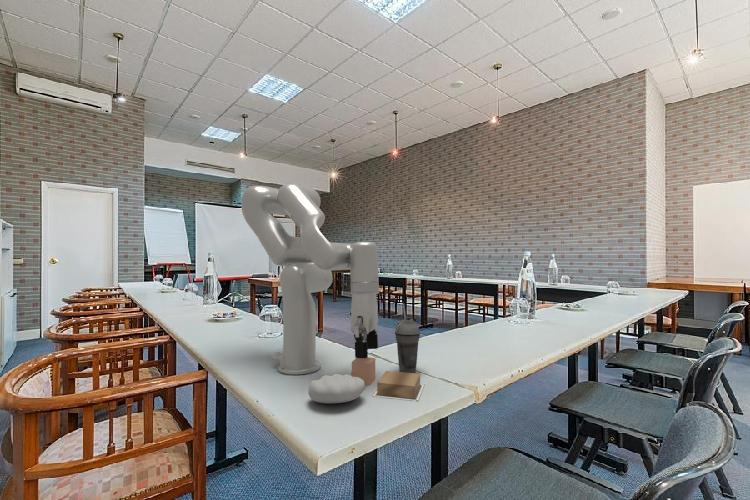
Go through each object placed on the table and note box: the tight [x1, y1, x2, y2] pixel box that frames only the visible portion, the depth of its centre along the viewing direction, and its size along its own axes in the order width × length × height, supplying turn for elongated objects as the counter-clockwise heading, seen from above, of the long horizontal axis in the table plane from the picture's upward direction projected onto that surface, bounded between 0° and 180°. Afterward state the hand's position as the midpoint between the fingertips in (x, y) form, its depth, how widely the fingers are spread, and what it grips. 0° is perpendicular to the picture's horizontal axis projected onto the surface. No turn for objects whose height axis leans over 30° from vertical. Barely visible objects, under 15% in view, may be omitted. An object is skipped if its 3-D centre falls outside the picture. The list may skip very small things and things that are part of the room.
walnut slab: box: [376, 370, 421, 399], centre depth 88 cm, size 9×9×3 cm
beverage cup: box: [394, 303, 421, 373], centre depth 102 cm, size 7×7×20 cm
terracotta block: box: [351, 356, 376, 386], centre depth 95 cm, size 5×5×6 cm
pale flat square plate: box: [371, 383, 425, 403], centre depth 88 cm, size 11×11×1 cm
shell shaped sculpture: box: [307, 373, 366, 404], centre depth 81 cm, size 13×13×6 cm
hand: (367, 353), depth 94 cm, fingers open, 9 cm apart
